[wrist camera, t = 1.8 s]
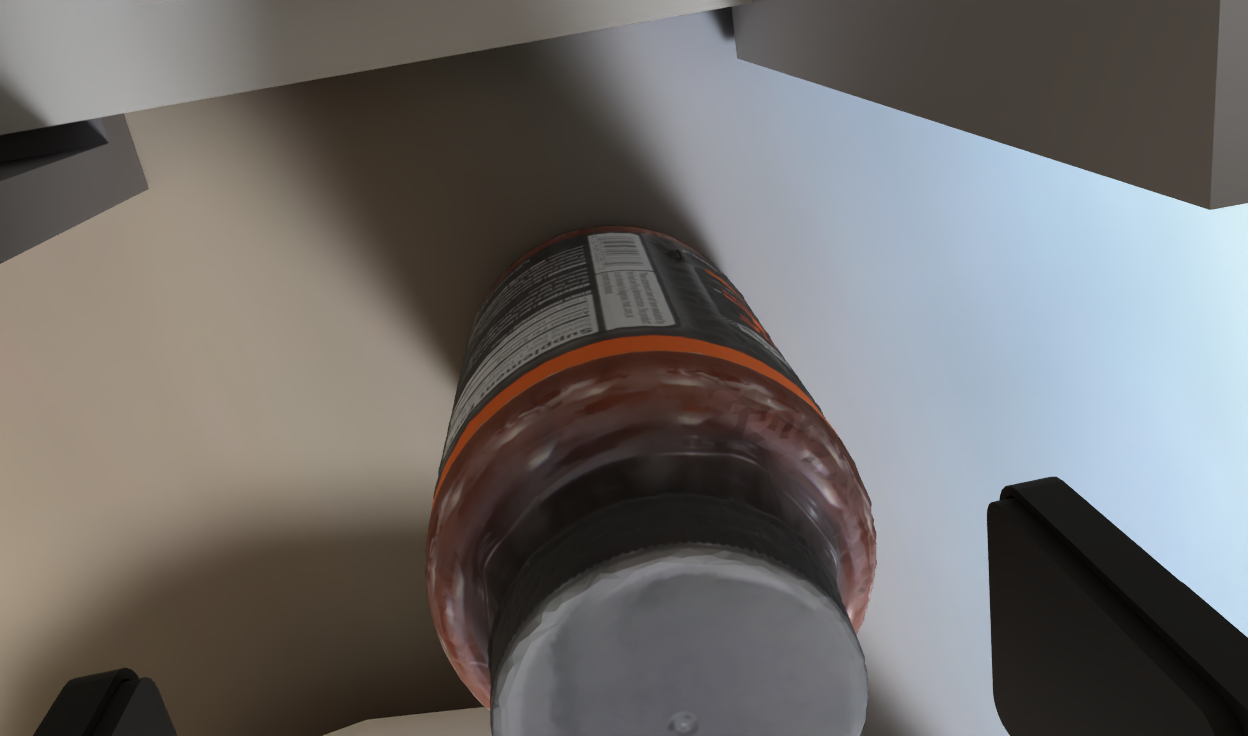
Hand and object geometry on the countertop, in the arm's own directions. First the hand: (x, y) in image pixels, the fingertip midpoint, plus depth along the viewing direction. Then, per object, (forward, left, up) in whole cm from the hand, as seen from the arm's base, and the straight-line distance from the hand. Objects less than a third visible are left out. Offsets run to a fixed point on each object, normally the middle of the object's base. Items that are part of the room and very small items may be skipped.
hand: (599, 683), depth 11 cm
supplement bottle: (-1, 0, -11) cm, 11 cm away
